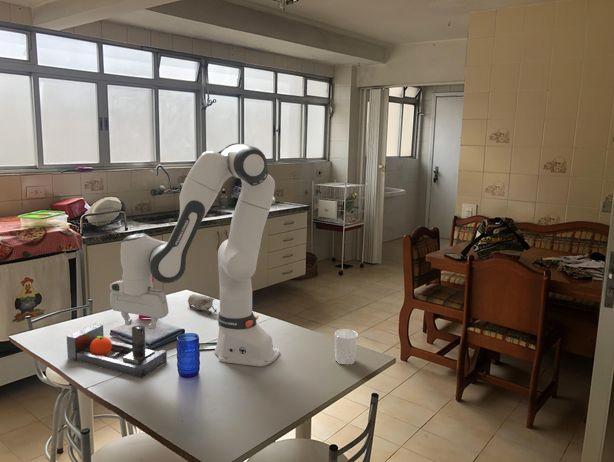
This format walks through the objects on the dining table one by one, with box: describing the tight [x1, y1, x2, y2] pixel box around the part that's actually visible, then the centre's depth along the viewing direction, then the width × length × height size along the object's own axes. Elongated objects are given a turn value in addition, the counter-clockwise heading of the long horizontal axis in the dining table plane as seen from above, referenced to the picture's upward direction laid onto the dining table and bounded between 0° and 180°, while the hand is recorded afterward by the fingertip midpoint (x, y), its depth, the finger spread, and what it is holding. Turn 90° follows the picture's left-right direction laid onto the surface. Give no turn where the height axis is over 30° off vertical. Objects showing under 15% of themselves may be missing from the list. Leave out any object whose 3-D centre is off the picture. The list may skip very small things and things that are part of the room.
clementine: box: [90, 336, 112, 357], centre depth 168 cm, size 8×7×7 cm
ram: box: [122, 324, 156, 365], centre depth 162 cm, size 6×8×13 cm
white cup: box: [334, 328, 359, 365], centre depth 171 cm, size 8×8×10 cm
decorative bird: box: [187, 293, 218, 316], centre depth 214 cm, size 5×16×7 cm, turn 51°
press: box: [66, 323, 168, 379], centre depth 166 cm, size 30×12×8 cm, turn 68°
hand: (140, 326), depth 161 cm, fingers open, 8 cm apart
